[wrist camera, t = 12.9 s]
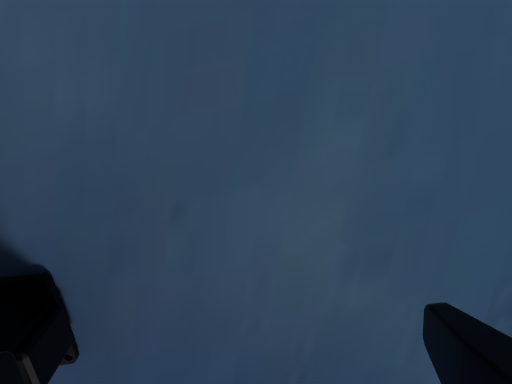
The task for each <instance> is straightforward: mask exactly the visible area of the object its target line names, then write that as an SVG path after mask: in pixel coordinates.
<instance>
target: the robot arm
mask: <svg viewBox="0 0 512 384" xmlns="http://www.w3.org/2000/svg"><path fill="white" fill-rule="evenodd" d="M41 281H43V282H44V283H45V284H42V283H41ZM423 340H424V344H425V347H426V350H427V352H428V354H429V357H430V359H431V361H432V364H433V366H434V368H435V371H436V373H437V375H438V377H439V380H440V382H441V384H512V338H511V337H509V336H507V335H506V334H504V333H502V332H500V331H498V330H496V329H494V328H493V327H491V326H489V325H487V324H485V323H483V322H481V321H479V320H478V319H476V318H474V317H472V316H470V315H468V314H466V313H465V312H463V311H461V310H459V309H457V308H455V307H453V306H451V305H450V304H447V303H433V304H428V305H426V306H425V308H424V321H423ZM69 355H71V356H69ZM78 356H79V351H78V348H77V346H76V343H75V337H74V334H73V332H72V329H71V326H70V323H69V320H68V318H67V315H66V312H65V309H64V307H63V306H62V304H61V301H60V298H59V295H58V293H57V290H56V287H55V284H54V282H53V279H52V278H51V277H50V276H49V275H47V274H35V275H27V276H18V277H9V278H1V279H0V384H48V382H49V381H50V379H51V377H52V376H53V374H54V373H55V371H56V369H57V368H58V366H59V365H64V364H72V363H74V362H75V361H76V360H77V358H78Z"/></svg>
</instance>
